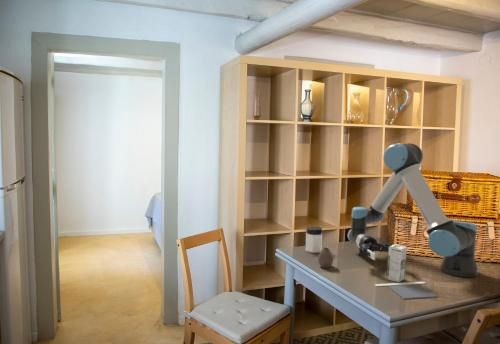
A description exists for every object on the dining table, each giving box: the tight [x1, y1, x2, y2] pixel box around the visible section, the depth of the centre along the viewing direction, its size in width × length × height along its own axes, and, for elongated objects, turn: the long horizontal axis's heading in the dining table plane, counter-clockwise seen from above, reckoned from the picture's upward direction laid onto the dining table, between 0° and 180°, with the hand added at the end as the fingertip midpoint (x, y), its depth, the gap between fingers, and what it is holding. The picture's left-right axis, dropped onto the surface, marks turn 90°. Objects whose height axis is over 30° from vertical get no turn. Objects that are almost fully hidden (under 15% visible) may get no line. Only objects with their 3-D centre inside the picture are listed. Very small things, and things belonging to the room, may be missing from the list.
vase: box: [317, 247, 334, 269], centre depth 188 cm, size 7×7×9 cm
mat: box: [386, 284, 438, 300], centre depth 160 cm, size 14×12×1 cm
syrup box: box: [386, 243, 408, 283], centre depth 173 cm, size 6×6×14 cm
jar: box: [305, 225, 323, 254], centre depth 213 cm, size 9×8×12 cm
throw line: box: [374, 281, 426, 287], centre depth 168 cm, size 22×2×1 cm, turn 101°
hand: (389, 256), depth 178 cm, fingers open, 13 cm apart
